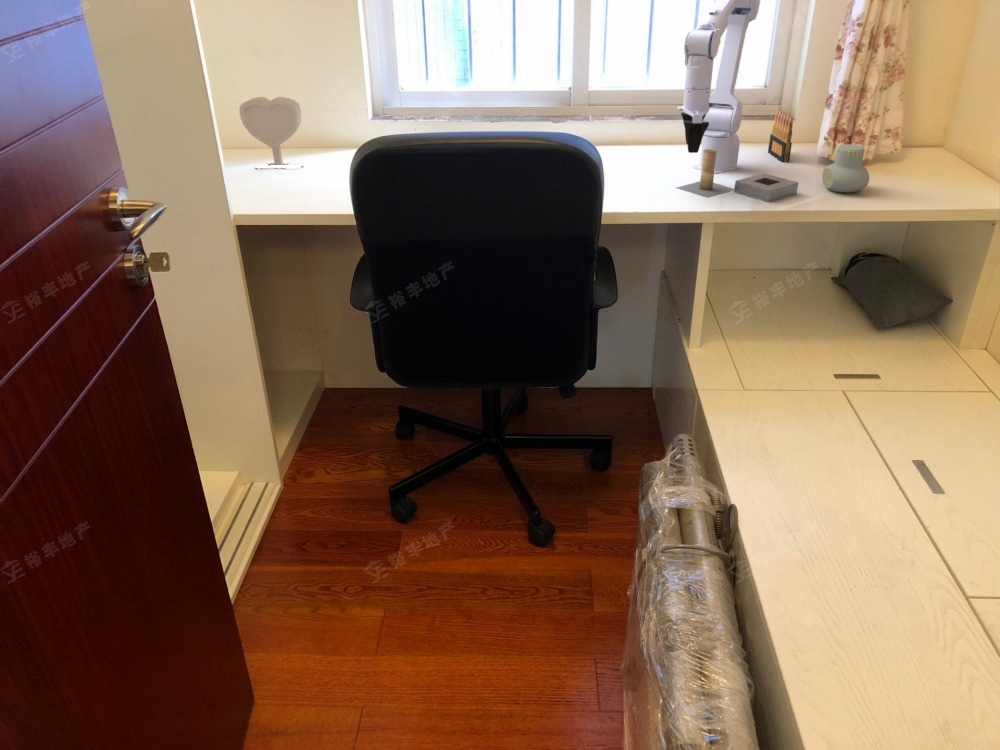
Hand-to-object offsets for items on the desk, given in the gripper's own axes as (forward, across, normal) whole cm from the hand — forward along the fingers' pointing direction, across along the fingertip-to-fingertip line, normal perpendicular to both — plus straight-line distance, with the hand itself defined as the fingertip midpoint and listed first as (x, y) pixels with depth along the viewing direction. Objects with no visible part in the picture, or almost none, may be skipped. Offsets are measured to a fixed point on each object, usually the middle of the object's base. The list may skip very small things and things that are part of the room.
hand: (691, 148), depth 185 cm
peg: (+10, 0, +4) cm, 10 cm away
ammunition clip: (+10, -31, +26) cm, 42 cm away
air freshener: (+10, -3, +36) cm, 38 cm away
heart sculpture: (+10, -14, -109) cm, 110 cm away
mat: (+10, 0, +4) cm, 11 cm away
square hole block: (+10, +2, +18) cm, 20 cm away
